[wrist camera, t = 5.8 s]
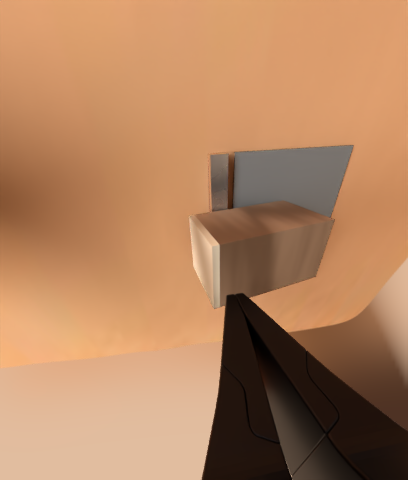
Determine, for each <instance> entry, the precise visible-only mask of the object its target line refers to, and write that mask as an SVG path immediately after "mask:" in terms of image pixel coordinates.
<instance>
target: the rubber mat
mask: <svg viewBox="0 0 408 480" xmlns="http://www.w3.org/2000/svg"><path fill="white" fill-rule="evenodd" d="M353 146H354V145H347V146H331V147H314V148H297V149H280V150H264V151H247V152H235V157H234V186H233V208H239V207H245V206H251V205H257V204H263V203H270V202H276V201H282V200H284V201H287V202H289V203H292V204H295V205H297V206H300V207H303V208H305V209H308V210H311V211H313V212H316V213H319V214H321V215H324V216H327V217H329V218H330V217H331V214H332V211H333V208H334V205H335V202H336V199H337V196H338V192H339V189H340V186H341V183H342V180H343V177H344V174H345V171H346V167H347V164H348V161H349V158H350V155H351V152H352V149H353Z"/></svg>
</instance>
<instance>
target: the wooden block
mask: <svg viewBox="0 0 408 480" xmlns="http://www.w3.org/2000/svg"><path fill="white" fill-rule="evenodd" d="M334 220H335V219H332V218H329V217H327V216H324V215H321V214H319V213H316V212H313V211H311V210H308V209H305V208H303V207H300V206H297V205H295V204H292V203H289V202H287V201H284V200H282V201H276V202H270V203H263V204H257V205H251V206H245V207H239V208H233V209H227V210H221V211H215V212H209V213H203V214H197V215H191V216H189V222H190V233H191V244H192V255H193V265H194V269H195V271H196V273H197V275H198V277H199V279H200V281H201V283H202V286H203V288H204V290H205V292H206V294H207V296H208V298H209V300H210V302H211V304H212V306H213V308H214V309H216V308H219V307H222V306H225V304H226V295H229V294H234V295H235V294H237V293H244V294H245V295H246V296H247V297H248V298H250V297H253V296H257V295H260V294H263V293H266V292H269V291H272V290H275V289H279V288H282V287H285V286H288V285H291V284H294V283H297V282H300V281H304V280H307V279H310V278H313V277H316V274H317V271H318V268H319V265H320V262H321V259H322V256H323V253H324V250H325V247H326V244H327V241H328V238H329V235H330V232H331V229H332V226H333V223H334Z"/></svg>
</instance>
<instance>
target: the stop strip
mask: <svg viewBox="0 0 408 480" xmlns="http://www.w3.org/2000/svg"><path fill="white" fill-rule="evenodd" d="M228 155H229V154H228V153H213V154H208V170H209V202H210V212H215V211H221V210H227V208H228Z"/></svg>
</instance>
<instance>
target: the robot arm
mask: <svg viewBox="0 0 408 480" xmlns="http://www.w3.org/2000/svg"><path fill="white" fill-rule="evenodd" d="M286 462H287V463H286ZM287 465H288V466H287ZM288 468H289V469H288ZM289 470H290V472H289ZM290 473H291V475H292V477H291V475H290ZM292 479H293V480H408V431H407V430H406V429H404V428H403V427H401V426H400V425H399V424H397V423H396V422H394V421H393V420H392V419H391V418H389V417H388V416H387V415H386V414H384V413H383V412H382V411H380V410H379V409H378V408H377V407H375V406H374V405H373V404H371V403H370V402H369V401H368V400H366V399H365V398H364V397H362V396H361V395H360V394H358V393H357V392H356V391H355V390H353V389H352V388H351V387H349V386H348V385H347V384H346V383H345V382H343V381H342V380H341V379H340V378H338V377H337V376H336V375H335V374H333V373H332V372H331V371H330V370H329V369H327V368H326V367H325V366H324V365H323V364H322V363H321V362H319V361H318V360H317V359H316V358H315V357H314V356H313V355H311V354H310V353H309V352H308V351H306V350H305V348H304V347H303V346H301V345H300V344H299V343H298V342H297V341H296V340H295V339H294V338H293V337H291V336H290V335H289V334H288V333H287V332H286V331H285V330H284V329H283V328H282V327H280V326H279V325H278V324H277V323H276V322H275V321H274V320H273V319H272V318H270V317H269V316H268V315H267V314H266V313H265V312H264V311H263V310H262V309H260V308H259V307H258V306H257V305H256V304H255V303H254V302H253V301H252V300H251V299H249V298H248V297H247V296H246V295H245V294H244V293H237V294H235V295H234V294H229V295H226V304H225V317H224V330H223V344H222V357H221V369H220V380H219V390H218V397H217V403H216V409H215V414H214V419H213V425H212V430H211V435H210V440H209V445H208V450H207V455H206V461H205V466H204V471H203V475H202V480H292Z"/></svg>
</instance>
